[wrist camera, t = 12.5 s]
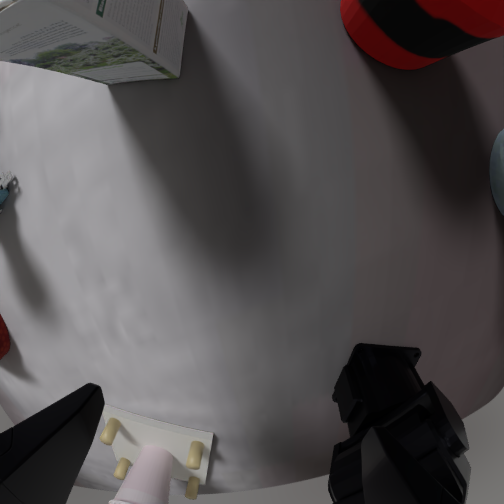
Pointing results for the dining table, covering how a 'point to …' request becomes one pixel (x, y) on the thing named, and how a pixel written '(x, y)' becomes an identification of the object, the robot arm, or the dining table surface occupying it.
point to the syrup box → (96, 37)
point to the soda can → (420, 28)
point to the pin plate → (162, 435)
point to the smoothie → (147, 478)
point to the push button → (4, 186)
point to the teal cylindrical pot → (497, 171)
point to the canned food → (4, 338)
